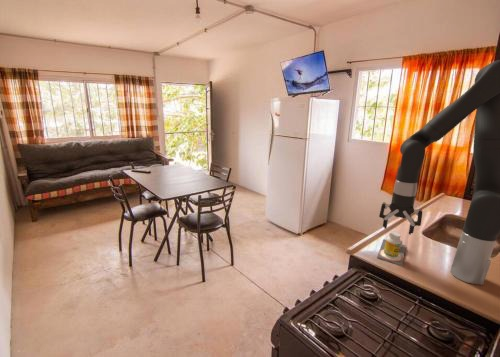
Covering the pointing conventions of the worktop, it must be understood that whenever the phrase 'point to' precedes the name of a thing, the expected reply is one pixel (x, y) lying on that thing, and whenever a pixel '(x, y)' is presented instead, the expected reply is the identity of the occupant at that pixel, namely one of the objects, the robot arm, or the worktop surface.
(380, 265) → the worktop surface
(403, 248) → the grey rectangular board
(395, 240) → the supplement bottle
